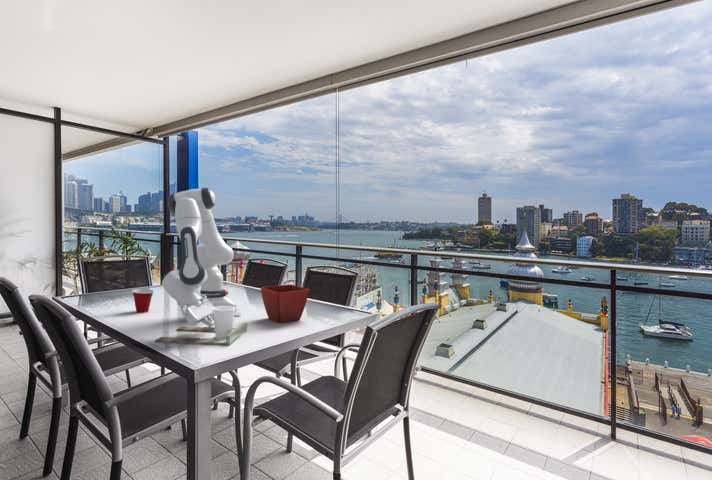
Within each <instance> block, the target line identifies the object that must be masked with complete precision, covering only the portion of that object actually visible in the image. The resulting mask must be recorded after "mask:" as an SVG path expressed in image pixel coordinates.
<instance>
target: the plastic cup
mask: <svg viewBox="0 0 712 480" xmlns="http://www.w3.org/2000/svg"><path fill="white" fill-rule="evenodd" d="M131 292H132V295H133V299H134V306H135V311H136V313H139V314H140V313H141V314H142V313H147V312H149V310H150V306H151V301H152V299H153V298H152V297H153V295H154V292H155V290H154V289H150V288H136V289H132V290H131Z"/></svg>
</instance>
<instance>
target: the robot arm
mask: <svg viewBox="0 0 712 480" xmlns="http://www.w3.org/2000/svg"><path fill="white" fill-rule="evenodd" d="M166 203H167V206H168V209H169V211H170V212H171V213H172V214H173V215H174V216H175V219H174V221H175V227H176V232H177V234H178V237H179V240H180V246H181V258H182V259H181V260H182V261H181V264H180V267H179V269H177V270H171V271H169V272H168V273H167V274H165V276H164V277H163V279H162V281H161V285H162V288H163V289H164V291H165V292H166V293H167V294H168V295H169V297H170V298H172V299H174V301H176V303H177V305H178V306H179V307H180V309H181V312H182V313H181V314H182V316H183V317H184V319H185V320H186V321H187V323H188V324H190V325H191V326H194V325H197V324H199V323H200V322H201V323H203V324H204V325H206V327H214V317H213V308H214V307H218V306H233V307H235V315H234V318H235V317H241V316H242V312H241V310H238V306H237V303H236V302H235V301H234V300H233V299H231V298H230V297H229V296H228V295H229V291H228V290H226V289H224V275H223V273H222V272H221V271H220V269H219V266H225V265H228V264H230V263H231V262H232V261H233V259H234V256H235V255H234V254H235V253H234V250H233V248H232V247H231V246H229V245H228V244H227V243H226V241H224V238H222V236H221V234H220V233H219V230H218V227H217V225H216V221H215V217H214V215H213V211H212V208H214V207H215V205H216V195H215V192H214V191H213V190H212V189H211V187H210V188H209V187H202V188H192V189H188V190H183V191H179V192H174V193H171V194H169V195H168V197H167V202H166ZM198 240H199V242H201V243H199V244H198ZM197 288H200V290H199V293H198V292H197V291H196V289H197Z"/></svg>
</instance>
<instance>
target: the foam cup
mask: <svg viewBox="0 0 712 480" xmlns="http://www.w3.org/2000/svg"><path fill="white" fill-rule="evenodd" d="M234 315H235V307H233V306H218V307H214V308H213V317H214V319H213V322H214V325H213V327H215V332H214V334H215V339H226V336H227V335H228V334H229V333H231V332H232V328H233V327H234V322H235V321H234V320H235V317H234Z"/></svg>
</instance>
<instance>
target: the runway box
mask: <svg viewBox="0 0 712 480" xmlns="http://www.w3.org/2000/svg"><path fill="white" fill-rule="evenodd" d="M203 327H204V326H202V327H201V326H183V325H182V326H180V327H177V328H176V331H178V332H198V333H199V332H200V333H205V332H206V333H215V329H214V330H200V329H202V328H203ZM246 332H248V322H246V321H244V322H243V323H242V324H240V325H238V326H237V327H234V328H232V332H231V333H229V334H228V335H227V336H226V339H216V338H200V339H199V340H197V341H196V342H186V341H182V340H183V339H185V338H186V337H167V336H161V337H158V338H156V339H155V340H154V342H155V343H169V344H171V343H172V344H189V345H191V344H192V345H214V346H231V345H232V344H233V343H235V342H236V341H237V340H238V339H239V338H241V337H242V336H243V335H244V334H245V333H246Z"/></svg>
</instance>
